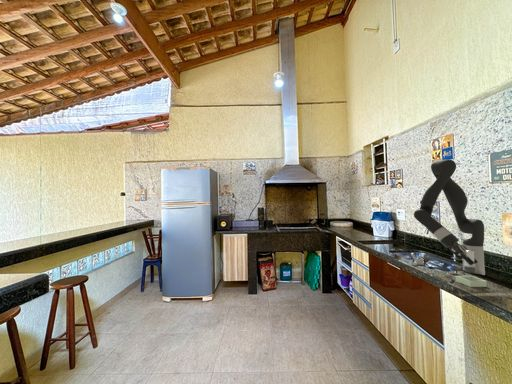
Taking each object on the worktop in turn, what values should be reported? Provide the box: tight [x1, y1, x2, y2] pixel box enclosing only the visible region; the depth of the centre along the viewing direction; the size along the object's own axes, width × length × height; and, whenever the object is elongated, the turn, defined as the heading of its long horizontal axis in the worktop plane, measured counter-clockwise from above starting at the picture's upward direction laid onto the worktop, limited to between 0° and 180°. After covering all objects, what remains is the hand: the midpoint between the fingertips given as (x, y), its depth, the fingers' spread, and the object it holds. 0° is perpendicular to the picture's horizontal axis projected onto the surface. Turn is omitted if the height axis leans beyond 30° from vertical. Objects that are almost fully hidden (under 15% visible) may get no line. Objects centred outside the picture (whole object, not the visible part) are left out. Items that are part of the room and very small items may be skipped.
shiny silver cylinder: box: [463, 250, 476, 274], centre depth 123 cm, size 4×4×11 cm
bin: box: [455, 275, 488, 288], centre depth 122 cm, size 9×9×4 cm
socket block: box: [444, 272, 466, 282], centre depth 131 cm, size 7×7×3 cm
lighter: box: [410, 252, 424, 266], centre depth 165 cm, size 7×2×8 cm, turn 78°
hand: (474, 263), depth 121 cm, fingers closed on shiny silver cylinder, 3 cm apart
